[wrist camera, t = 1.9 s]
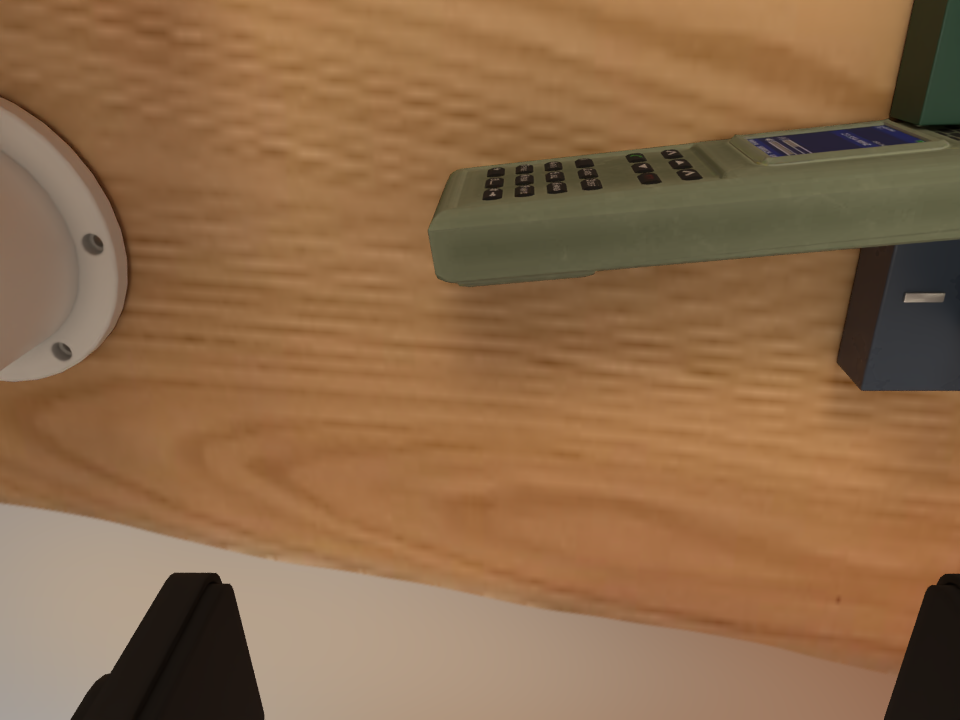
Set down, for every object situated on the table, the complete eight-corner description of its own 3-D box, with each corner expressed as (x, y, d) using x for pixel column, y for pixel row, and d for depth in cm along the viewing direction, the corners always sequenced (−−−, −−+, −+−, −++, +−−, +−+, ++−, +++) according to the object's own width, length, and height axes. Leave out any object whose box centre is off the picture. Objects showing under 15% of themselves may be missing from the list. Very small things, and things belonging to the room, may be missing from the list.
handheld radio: (444, 156, 28) (1134, 83, 25) (455, 237, 29) (1107, 175, 27) (423, 204, 22) (1319, 114, 19) (438, 301, 23) (1271, 230, 21)
